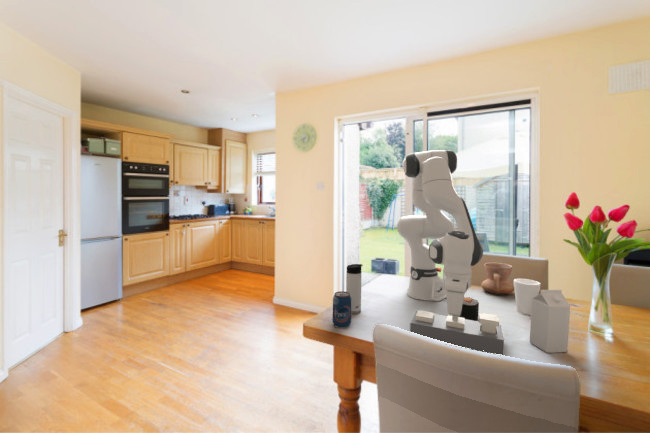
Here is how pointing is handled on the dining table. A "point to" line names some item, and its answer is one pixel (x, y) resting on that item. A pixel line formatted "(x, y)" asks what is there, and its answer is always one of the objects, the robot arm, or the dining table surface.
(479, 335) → the block
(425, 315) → the knob
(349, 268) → the travel mug
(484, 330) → the knob
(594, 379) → the dining table surface
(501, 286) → the ceramic jug
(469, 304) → the sushi
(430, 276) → the robot arm
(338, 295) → the soda can
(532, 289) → the foam cup
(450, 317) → the knob middle
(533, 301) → the milk carton
